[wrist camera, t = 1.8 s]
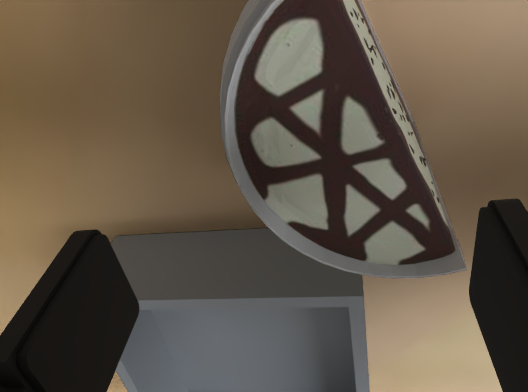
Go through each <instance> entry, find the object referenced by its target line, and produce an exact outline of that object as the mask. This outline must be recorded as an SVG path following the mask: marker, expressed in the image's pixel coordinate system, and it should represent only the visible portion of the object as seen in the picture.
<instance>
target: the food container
mask: <svg viewBox="0 0 528 392" xmlns="http://www.w3.org/2000/svg"><path fill="white" fill-rule="evenodd" d="M220 122H221V135H222V140H223V144H224V149H225V154H226V158H227V161H228V163H229V166H230V168H231V171H232V173H233V176H234V178H235V180H236V182H237V184H238V186H239V188H240V190H241V192H242V193H243V195H244V197H245V198H246V200H247V202H248V203H249V205H250V206H251V208H252V209H253V211H254V212H255V213H256V214H257V215H258V217H259V218H260V219H261V220H262V221H263V223H264V224H265V225H266V226H267V227H268V228H269V229H270V230H272V231H273V232H274V233H275V234H276V235H277V236H278V237H279V238H281V239H282V240H283V241H284V242H286V243H287V244H289V245H290V246H292V247H293V248H295V249H296V250H298V251H299V252H301V253H302V254H304V255H306V256H309V257H311V258H313V259H315V260H317V261H319V262H321V263H323V264H326V265H329V266H332V267H335V268H338V269H341V270H343V271H347V272H352V273H356V274H361V275H366V276H373V277H383V278H423V277H431V276H439V275H446V274H450V273H455V272H459V271H463V270H467V268H466V265H465V260H464V257H463V254H462V251H461V248H460V245H459V242H458V239H456V236H455V234H454V231H453V228H452V225H451V223H450V220H449V217H448V214H447V211H446V209H445V206H444V203H443V200H442V197H441V195H440V192H439V189H438V186H437V184H436V181H435V178H434V175H433V172H432V170H431V167H430V164H429V161H428V158H427V156H426V153H425V150H424V147H423V145H422V142H421V139H420V136H419V133H418V131H417V128H416V125H415V123H414V120H413V118H412V116H411V114H410V111H409V109H408V107H407V105H406V102H405V100H404V98H403V96H402V93H401V91H400V89H399V87H398V84H397V82H396V80H395V77H394V75H393V73H392V71H391V68H390V66H389V64H388V62H387V59H386V57H385V55H384V53H383V50H382V48H381V46H380V44H379V41H378V39H377V37H376V35H375V32H374V30H373V28H372V26H371V23H370V21H369V19H368V17H367V14H366V12H365V10H364V8H363V5H362V3H361V1H360V0H248V2H247V3H246V5H245V6H244V8H243V10H242V13H241V15H240V17H239V19H238V21H237V23H236V25H235V28H234V30H233V32H232V34H231V37H230V41H229V44H228V48H227V51H226V55H225V58H224V62H223V69H222V78H221V87H220Z"/></svg>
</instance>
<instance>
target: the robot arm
mask: <svg viewBox="0 0 528 392" xmlns="http://www.w3.org/2000/svg"><path fill="white" fill-rule="evenodd" d="M469 296H470V302H471V305H472V308H473V311H474V313H475V316H476V319H477V322H478V324H479V327H480V330H481V333H482V335H483V338H484V341H485V344H486V346H487V349H488V352H489V355H490V357H491V360H492V363H493V366H494V368H495V371H496V374H497V377H498V379H499V382H500V385H501V388H502V390H503V392H528V212H527V210H526V209H525V207H524V206H523V204H522V203H521V201H520V200H519V199H505V200H491V201H489V203H488V206H487V207H482V208H480V211H479V217H478V224H477V232H476V240H475V248H474V255H473V263H472V271H471V278H470V286H469ZM138 315H139V302H138V300H137V298H136V296H135V294H134V292H133V290H132V287H131V285H130V283H129V281H128V279H127V277H126V275H125V273H124V271H123V269H122V267H121V265H120V263H119V260H118V258H117V256H116V254H115V252H114V250H113V248H112V246H111V244H110V242H109V240H108V238H107V236H105V235H103V234H101V232H100V231H98V230H83V231H76V232H74V233H73V234H72V235H71V236H70V238H69V239H68V240H67V242H66V243H65V245H64V246H63V247H62V249H61V250H60V252H59V253H58V255H57V256H56V257H55V259H54V260H53V262H52V263H51V264H50V266H49V267H48V269H47V270H46V272H45V273H44V274H43V276H42V277H41V279H40V280H39V281H38V283H37V284H36V286H35V287H34V288H33V290H32V291H31V293H30V294H29V296H28V297H27V298H26V300H25V301H24V303H23V304H22V305H21V307H20V308H19V310H18V311H17V313H16V314H15V315H14V317H13V318H12V320H11V321H10V322H9V324H8V325H7V327H6V328H5V330H4V331H3V332H2V334H1V335H0V392H107V389H108V387H109V385H110V382H111V380H112V377H113V375H114V373H115V370H116V368H117V365H118V363H119V361H120V358H121V356H122V353H123V351H124V349H125V346H126V344H127V342H128V339H129V337H130V334H131V332H132V330H133V327H134V325H135V322H136V320H137V318H138Z"/></svg>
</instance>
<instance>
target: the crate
mask: <svg viewBox="0 0 528 392" xmlns="http://www.w3.org/2000/svg"><path fill="white" fill-rule="evenodd" d="M111 246H112V248H113V250H114V252H115V254H116V256H117V258H118V260H119V263H120V265H121V267H122V269H123V271H124V273H125V275H126V277H127V279H128V281H129V283H130V285H131V287H132V290H133V292H134V294H135V296H136V298H137V300H138V302H139V315H138V318H137V320H136V322H135V325H134V327H133V330H132V332H131V334H130V337H129V339H128V342H127V344H126V346H125V349H124V351H123V353H122V356H121V358H120V361H119V363H118V365H117V368H116V372H117V374H118V375H119V377H120V379H121V381H122V382H123V384H124V386H125V387H126V389H127V391H128V392H370V390H369V374H368V358H367V342H366V326H365V310H364V295H363V281H362V275H361V274H356V273H352V272H347V271H343V270H341V269H338V268H335V267H332V266H329V265H326V264H323V263H321V262H319V261H317V260H315V259H313V258H311V257H309V256H306V255H304V254H302V253H301V252H299V251H298V250H296V249H295V248H293V247H292V246H290V245H289V244H287V243H286V242H284V241H283V240H282V239H281V238H279V237H278V236H277V235H276V234H275V233H274V232H273V231H272V230H270V229H269V228H259V229H240V230H221V231H202V232H182V233H163V234H144V235H125V236H116V237H115V238H114V240H113V241H112V243H111Z"/></svg>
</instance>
